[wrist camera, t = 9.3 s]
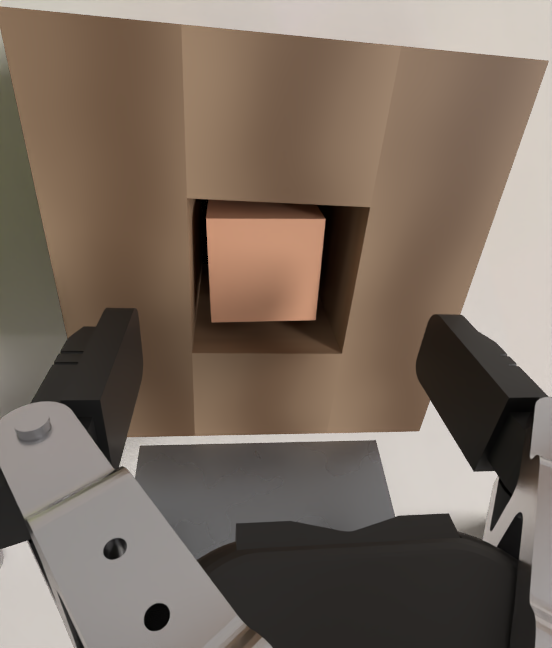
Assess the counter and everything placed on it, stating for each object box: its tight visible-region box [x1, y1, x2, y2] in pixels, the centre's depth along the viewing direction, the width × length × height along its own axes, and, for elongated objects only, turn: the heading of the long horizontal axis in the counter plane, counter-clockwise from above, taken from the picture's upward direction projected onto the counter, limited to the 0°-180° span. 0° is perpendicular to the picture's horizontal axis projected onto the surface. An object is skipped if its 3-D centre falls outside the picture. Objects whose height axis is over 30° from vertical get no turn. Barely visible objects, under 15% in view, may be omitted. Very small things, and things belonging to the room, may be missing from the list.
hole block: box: [0, 7, 549, 437], centre depth 18 cm, size 14×14×8 cm
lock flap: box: [135, 440, 395, 560], centre depth 14 cm, size 12×10×1 cm
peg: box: [206, 199, 326, 322], centre depth 18 cm, size 4×4×7 cm
